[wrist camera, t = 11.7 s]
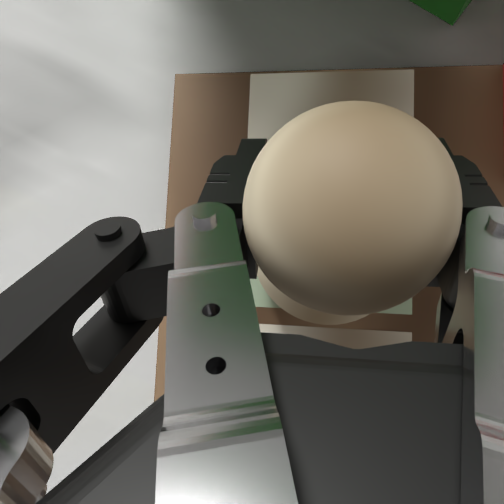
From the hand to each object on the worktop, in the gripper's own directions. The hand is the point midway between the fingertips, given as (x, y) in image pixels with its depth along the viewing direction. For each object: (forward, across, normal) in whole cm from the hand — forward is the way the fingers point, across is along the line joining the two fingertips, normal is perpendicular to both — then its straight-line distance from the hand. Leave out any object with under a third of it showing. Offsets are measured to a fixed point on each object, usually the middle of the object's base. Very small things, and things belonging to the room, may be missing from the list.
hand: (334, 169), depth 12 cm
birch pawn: (+2, 0, +4) cm, 5 cm away
